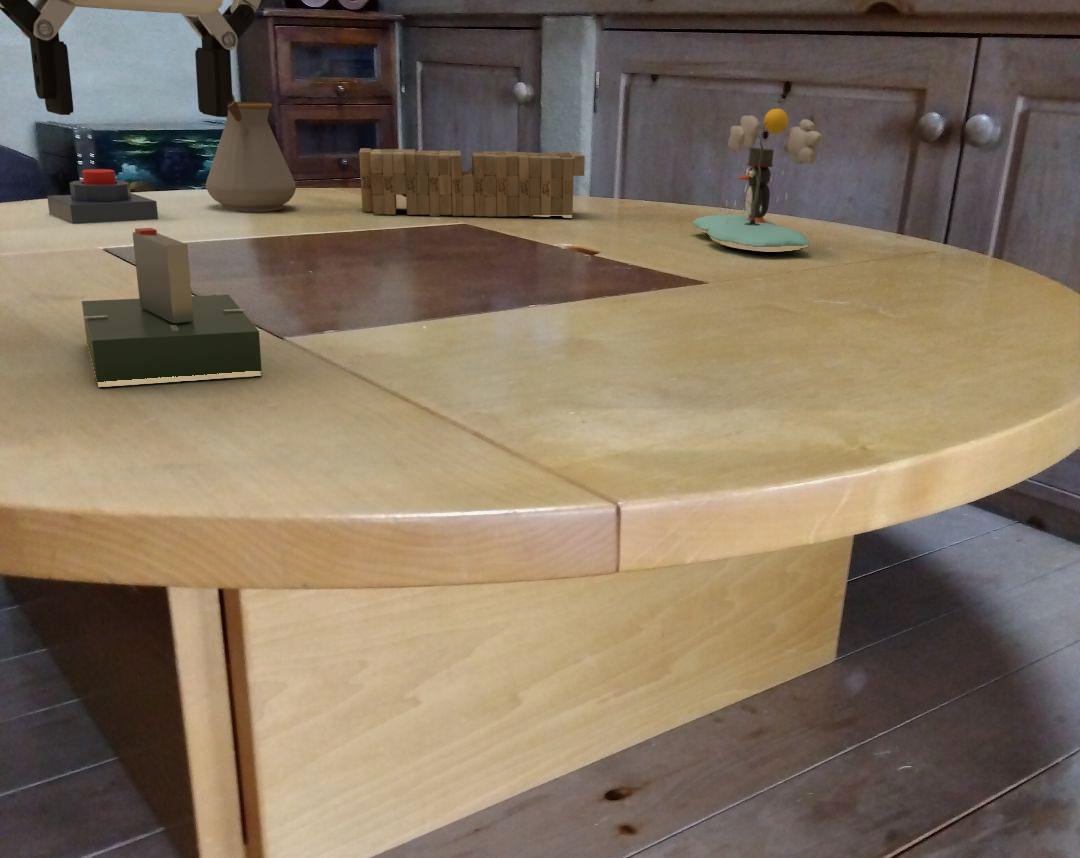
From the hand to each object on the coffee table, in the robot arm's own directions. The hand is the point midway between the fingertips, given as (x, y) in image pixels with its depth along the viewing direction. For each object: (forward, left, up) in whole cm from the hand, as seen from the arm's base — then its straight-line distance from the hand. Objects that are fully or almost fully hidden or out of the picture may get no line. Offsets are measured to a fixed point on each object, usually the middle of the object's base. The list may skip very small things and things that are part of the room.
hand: (139, 114), depth 70 cm
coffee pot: (+35, +64, -16) cm, 75 cm away
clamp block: (0, -1, -16) cm, 16 cm away
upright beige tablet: (0, -1, -12) cm, 12 cm away
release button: (+18, +67, -12) cm, 71 cm away
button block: (+18, +67, -16) cm, 72 cm away
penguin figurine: (+77, +17, -16) cm, 81 cm away
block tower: (+62, +53, -16) cm, 83 cm away
